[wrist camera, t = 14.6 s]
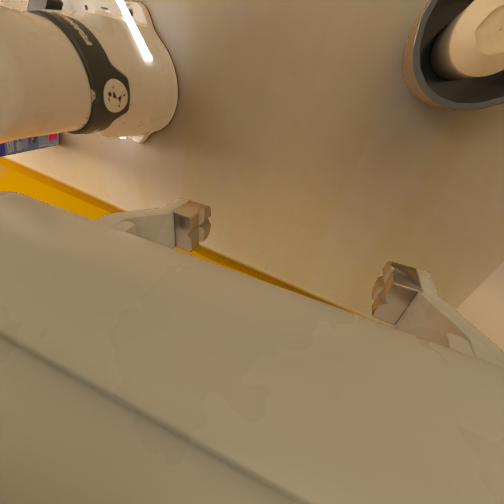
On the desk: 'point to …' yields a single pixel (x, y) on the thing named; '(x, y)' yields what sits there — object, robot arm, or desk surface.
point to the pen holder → (424, 78)
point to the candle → (471, 42)
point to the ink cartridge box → (28, 144)
